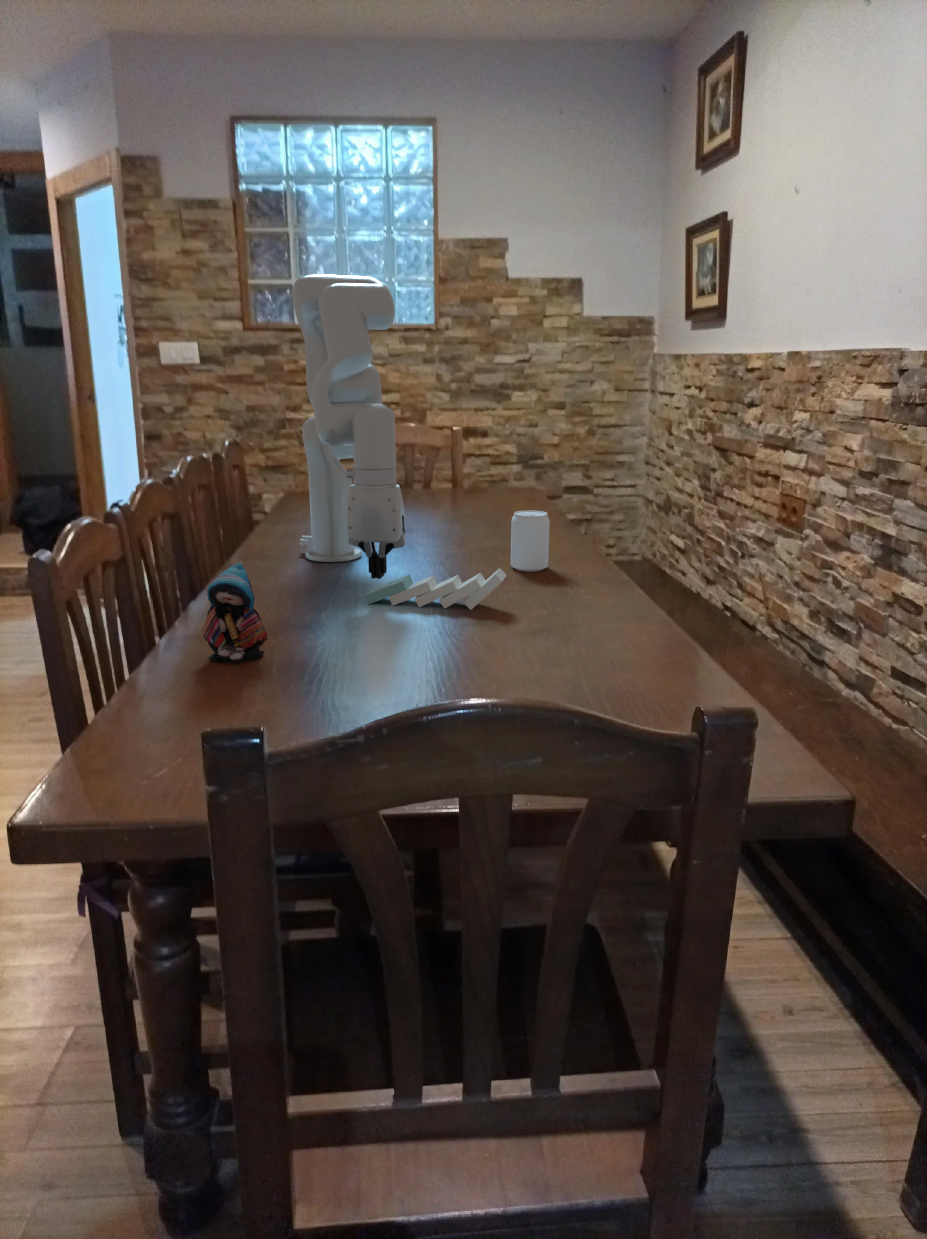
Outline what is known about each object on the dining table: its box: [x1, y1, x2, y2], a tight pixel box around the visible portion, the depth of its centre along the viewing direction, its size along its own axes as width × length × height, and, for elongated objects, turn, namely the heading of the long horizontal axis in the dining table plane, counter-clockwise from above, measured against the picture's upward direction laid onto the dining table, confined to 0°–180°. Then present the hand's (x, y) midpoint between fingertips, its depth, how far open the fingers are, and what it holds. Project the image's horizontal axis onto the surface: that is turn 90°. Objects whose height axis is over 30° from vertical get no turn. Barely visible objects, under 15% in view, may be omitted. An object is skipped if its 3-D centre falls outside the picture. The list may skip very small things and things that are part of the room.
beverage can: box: [510, 509, 551, 573], centre depth 185 cm, size 8×8×12 cm
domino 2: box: [388, 575, 438, 606], centre depth 160 cm, size 2×5×8 cm
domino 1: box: [364, 574, 414, 605], centre depth 161 cm, size 2×5×8 cm
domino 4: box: [438, 572, 487, 610], centre depth 158 cm, size 2×5×8 cm
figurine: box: [200, 560, 268, 663], centre depth 128 cm, size 10×7×15 cm
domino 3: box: [414, 574, 463, 608], centre depth 159 cm, size 2×5×8 cm
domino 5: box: [463, 567, 507, 611], centre depth 157 cm, size 2×5×8 cm
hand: (377, 576), depth 160 cm, fingers closed
